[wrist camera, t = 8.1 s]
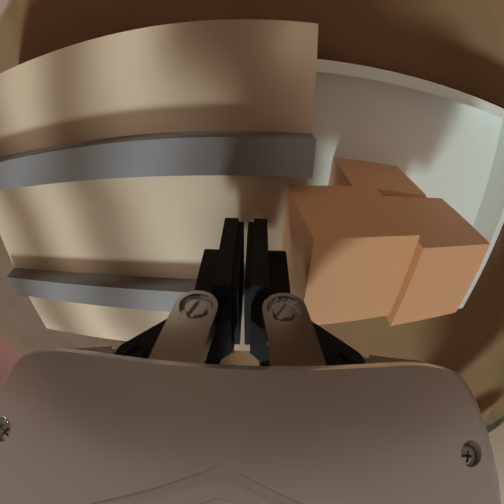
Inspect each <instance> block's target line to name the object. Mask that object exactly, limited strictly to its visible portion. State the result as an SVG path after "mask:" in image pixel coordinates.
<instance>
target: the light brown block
mask: <svg viewBox="0 0 504 504" xmlns="http://www.w3.org/2000/svg"><path fill="white" fill-rule="evenodd" d="M384 197H385V198H386V199H387V200H388V201H389V202H390V203H391V204H392V205H393V207H394V208H395V209H396V210H397V211H398V212H399V213H400V214H401V215H402V216H403V217H404V218H405V219H406V220H407V221H408V222H409V223H410V224H411V226H412V227H413V228H414V229H415V230H416V231H417V232H418V233H419V234H420V238H419V241H418V243H417V246H416V249H415V252H414V255H413V258H412V260H411V263H410V266H409V269H408V271H407V274H406V276H405V279H404V281H403V284H402V286H401V289H400V291H399V294H398V296H397V299H396V301H395V303H394V306H393V308H392V310H391V313H390V315H388V316H386V318H387V320H388V322H389V324H390V326H393V325H398V324H404V323H409V322H414V321H419V320H424V319H428V318H433V317H438V316H442V315H447V314H451V313H455V312H456V311H457V309H458V308H459V306H460V304H461V302H462V301H463V299H464V297H465V295H466V293H467V291H468V289H469V288H470V286H471V284H472V282H473V280H474V278H475V276H476V274H477V272H478V270H479V268H480V266H481V264H482V261H483V259H484V257H485V255H486V253H487V251H488V248H489V246H490V243H489V242H488V241H487V240H486V239H485V238H484V237H483V236H482V235H481V234H480V233H479V232H478V231H477V230H476V229H475V228H474V227H473V226H472V225H471V224H470V223H468V222H467V221H466V220H465V219H464V218H463V217H462V216H461V215H460V214H459V213H458V212H457V211H455V210H454V209H453V208H452V207H451V206H450V205H449V204H447V203H446V202H445V201H444V200H443V199H442V198H428V197H405V196H384Z"/></svg>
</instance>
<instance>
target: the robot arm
mask: <svg viewBox="0 0 504 504" xmlns="http://www.w3.org/2000/svg"><path fill="white" fill-rule="evenodd" d="M243 289H244V344H245V345H250V353H251V354H252V355H253V356H254V357H256V358H257V359H258V360H259V366H241V365H223V358H224V357H226V356H227V355H229V354H230V353H234V345H235V344H238V345H240V337H241V320H242V305H243ZM0 504H501V498H500V490H499V482H498V476H497V471H496V466H495V461H494V457H493V452H492V448H491V444H490V440H489V436H488V433H487V429H486V426H485V423H484V420H483V417H482V414H481V411H480V409H479V406H478V404H477V402H476V399H475V397H474V395H473V393H472V391H471V389H470V387H469V386H468V384H467V383H466V381H465V380H464V379H463V378H462V377H461V376H460V375H459V374H457V373H456V372H454V371H452V370H450V369H448V368H445V367H442V366H438V365H434V364H429V363H423V362H420V361H416V360H407V359H398V358H389V357H381V356H373V355H369V357H368V358H365V357H362V355H361V354H359V353H358V352H357V351H356V350H354V349H353V348H351V347H350V346H348V345H347V344H345V343H344V342H342V341H341V340H339V339H338V338H336V337H335V336H333V335H332V334H330V333H329V332H327V331H326V330H324V329H323V328H321V327H320V326H318V325H317V324H315V323H314V322H312V321H311V318H310V315H309V312H308V310H307V307H306V305H305V303H304V301H303V300H301V299H300V298H299V297H297V296H295V295H293V294H291V292H290V282H289V273H288V264H287V255H286V251H271V250H268V229H267V219H261V218H254V222H248V232H247V248H246V263H245V279H244V222H239V218H225V221H224V226H223V231H222V236H221V241H220V247H219V249H205V250H204V253H203V257H202V261H201V265H200V269H199V273H198V277H197V281H196V285H195V289H194V291H190V292H187V293H185V294H183V295H181V296H180V297H179V298H178V299H177V300H176V302H175V304H174V306H173V308H172V310H171V312H170V314H169V316H168V318H167V319H165V320H164V321H162V322H160V323H158V324H157V325H155V326H153V327H151V328H150V329H148V330H146V331H144V332H143V333H141V334H139V335H137V336H136V337H134V338H132V339H130V340H129V341H127V342H125V343H124V344H122V345H121V346H120V347H119V348H118V349H114V348H113V346H107V347H90V348H70V349H62V348H59V349H46V350H40V351H35V352H32V353H29V354H27V355H25V356H23V357H22V358H20V359H19V360H18V361H17V362H16V363H15V365H14V366H13V367H12V369H11V370H10V372H9V374H8V375H7V377H6V379H5V381H4V382H3V384H2V386H1V388H0Z"/></svg>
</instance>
